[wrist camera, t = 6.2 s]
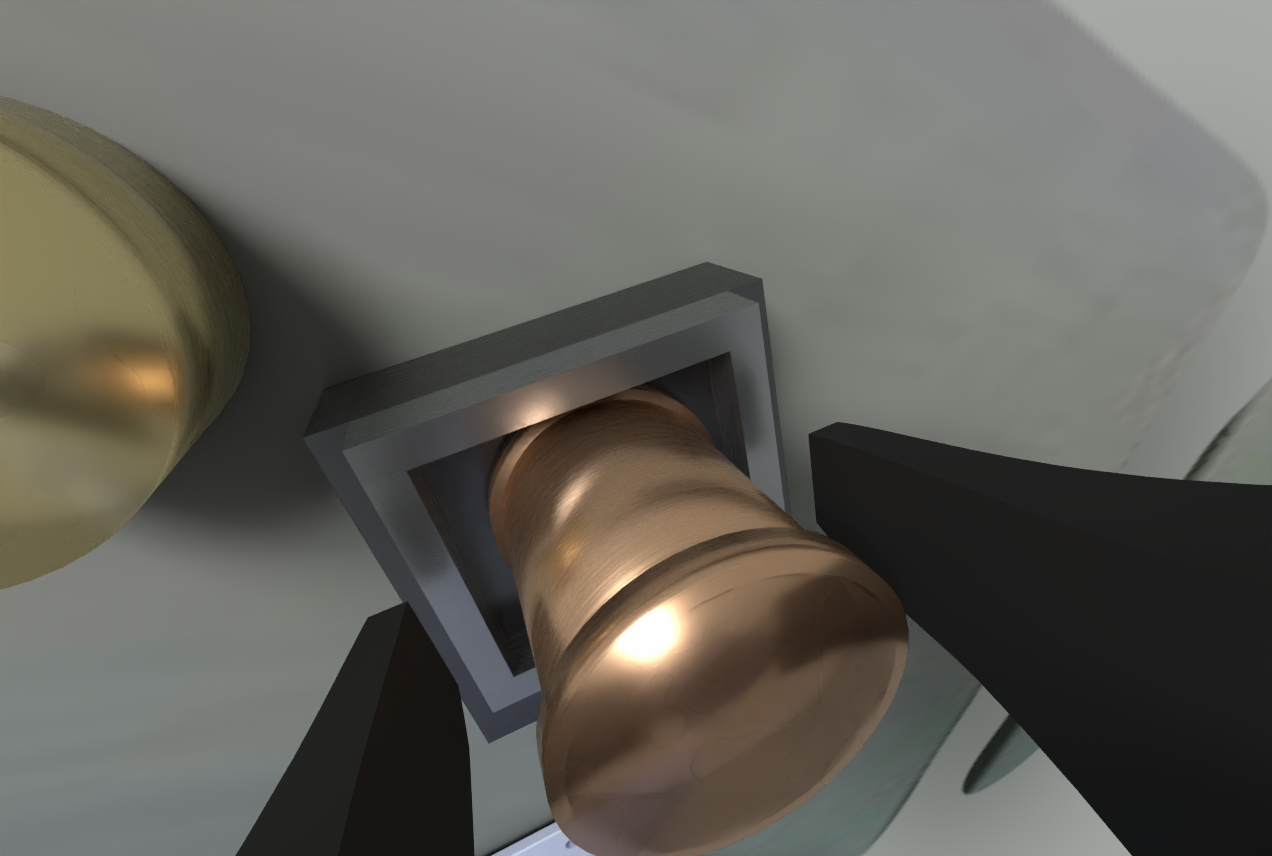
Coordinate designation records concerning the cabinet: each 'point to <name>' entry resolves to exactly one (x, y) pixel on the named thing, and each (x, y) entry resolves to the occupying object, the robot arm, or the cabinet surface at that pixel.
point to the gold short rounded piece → (100, 336)
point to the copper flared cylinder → (682, 631)
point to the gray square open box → (513, 399)
